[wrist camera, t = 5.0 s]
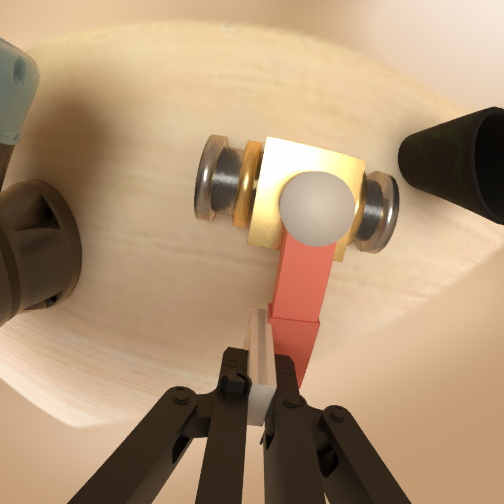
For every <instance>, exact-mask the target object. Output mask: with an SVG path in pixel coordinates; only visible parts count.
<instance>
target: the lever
mask: <svg viewBox="0 0 504 504" xmlns="http://www.w3.org/2000/svg"><path fill="white" fill-rule="evenodd" d="M279 212H280V216H281V218H282V221H283V223H284V226H285V230H284V236H283V242H282V248H281V254H280V259H279V265H278V271H277V276H276V282H275V287H274V293H273V298H272V303H269V304H268V324H271V325H272V336H273V347H274V354H280V355H288V356H290V358H291V359H292V360H293V361H294V365H295V371H296V376H297V382H298V388H299V389H300V387H301V384H302V381H303V378H304V375H305V372H306V369H307V366H308V363H309V359H310V356H311V353H312V350H313V347H314V343H315V340H316V336H317V333H318V330H319V326H320V321H319V319H318V317H319V313H320V310H321V306H322V302H323V298H324V294H325V290H326V286H327V282H328V278H329V274H330V269H331V265H332V261H333V256H334V252H335V247H336V243H337V241H338V240H340V239H341V238H342V237H343V236H344V235H345V234H346V233H347V232H348V230H349V229H350V227H351V225H352V223H353V220H354V216H355V201H354V197H353V194H352V192H351V190H350V188H349V187H348V185H347V184H346V183H345V182H344V181H343V180H342V179H341V178H339V177H338V176H336V175H334V174H332V173H329V172H325V171H304V172H301V173H299V174H296V175H295V176H293V177H292V178H291V179H289V180H288V181H287V183H286V184H285V185H284V187H283V189H282V190H281V193H280V197H279Z"/></svg>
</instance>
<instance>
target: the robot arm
mask: <svg viewBox="0 0 504 504" xmlns="http://www.w3.org/2000/svg"><path fill="white" fill-rule="evenodd" d="M39 76H40V75H39V69H38V66H37V64H36V62H35V61H34V60H33V59H32V58H31V57H30V56H29V55H27V54H26V53H25V52H23V51H22V50H20V49H19V48H17V47H15V46H14V45H12V44H10V43H9V42H7V41H5V40H4V39H2V38H0V192H1V188H2V185H3V181H4V178H5V174H6V171H7V167H8V164H9V161H10V158H11V155H12V152H13V149H14V147H15V144H16V143H18V142H19V140H20V138H21V135H22V125H23V123H24V120H25V117H26V115H27V112H28V110H29V107H30V105H31V103H32V100H33V98H34V96H35V94H36V91H37V88H38V85H39ZM80 267H81V247H80V239H79V234H78V230H77V227H76V224H75V221H74V218H73V216H72V213H71V211H70V209H69V207H68V205H67V204H66V202H65V201H64V199H63V198H62V197H61V195H60V194H59V193H58V192H57V191H56V190H55V189H54V188H53V187H51V186H50V185H48V184H47V183H44V182H42V181H37V180H31V181H25V182H19V183H16V184H14V185H12V186H10V187H9V188H7V189H6V190H4V191H3V192H2V193H0V327H1V326H2V325H4V324H5V323H6V322H7V321H9V320H10V319H11V318H13V317H14V316H15V315H17V314H21V313H25V312H30V311H35V310H40V309H45V308H49V307H52V306H54V305H56V304H57V303H59V302H60V301H61V300H63V299H64V298H65V297H67V296H68V295H69V294H70V293H71V292H72V290H73V289H74V287H75V285H76V283H77V280H78V277H79V273H80ZM264 421H265V431H264V433H263V436H262V438H261V441H260V444H262V443H263V448H264V484H265V485H264V487H265V504H326V501H325V495H324V493H325V494H326V497H327V499H328V501H329V503H330V504H411V502H410V501H409V499H408V498H407V496H406V495H405V493H404V492H403V490H402V489H401V487H400V486H399V484H398V483H397V482H396V480H395V479H394V477H393V476H392V474H391V473H390V471H389V470H388V468H387V467H386V465H385V464H384V462H383V461H382V460H381V458H380V456H379V455H378V454H377V452H376V450H375V449H374V447H373V446H372V445H371V443H370V442H369V440H368V439H367V437H366V436H365V434H364V433H363V431H362V430H361V428H360V427H359V425H358V424H357V422H356V421H355V419H354V418H353V416H352V415H351V413H350V412H349V411H348V410H347V409H345V408H343V407H341V406H337V405H331V406H328V407H326V408H325V409H324V411H323V410H320V409H316V408H313V407H311V406H309V405H307V402H306V400H305V399H304V398H303V397H302V396H301V395H300V394H299V388H298V382H297V376H296V371H295V365H294V361H293V360H292V359H291V358H290V356H288V355H280V354H274V347H273V336H272V325H271V324H268V310H264V309H258V308H253V307H252V310H251V315H250V319H249V324H248V329H247V333H246V338H245V342H244V349H238V348H232V347H228V348H227V349H226V350H225V351H224V353H223V359H222V364H221V370H220V375H219V381H218V385H217V388H216V389H215V390H214V391H212V392H210V393H207V394H196V393H195V392H194V391H193V390H191V389H189V388H187V387H183V386H176V387H172V388H170V389H169V390H167V391H166V392H165V393H164V395H163V396H162V397H161V398H160V399H159V400H158V402H157V403H156V404H155V405H154V406H153V408H152V409H151V410H150V411H149V412H148V413H147V415H146V416H145V417H144V418H143V419H142V420H141V421H140V423H139V424H138V425H137V426H136V427H135V429H134V430H133V431H132V432H131V433H130V434H129V435H128V436H127V438H126V439H125V440H124V441H123V442H122V443H121V445H120V446H119V447H118V448H117V449H116V450H115V451H114V453H113V454H112V455H111V456H110V457H109V458H108V459H107V460H106V462H104V464H103V465H102V466H101V467H100V468H99V469H98V470H97V472H96V473H95V474H94V475H93V476H92V477H91V478H90V479H89V480H88V481H87V482H86V484H85V485H84V486H83V487H82V488H81V489H80V490H79V491H78V492H77V493H76V495H75V496H74V497H73V498H72V499H71V500H70V501H69V502H68V503H67V504H151V503H152V502H153V500H154V499H155V498H156V496H157V495H158V493H159V492H160V490H161V489H162V487H163V486H164V484H165V482H166V481H167V479H168V478H169V476H170V475H171V473H172V472H173V470H174V469H175V467H176V466H177V464H178V462H179V461H180V459H181V458H182V456H183V455H184V453H185V451H186V449H187V448H188V447H189V445H190V444H191V442H192V440H193V438H203V437H208V438H207V443H206V448H205V453H204V459H203V464H202V469H201V474H200V480H199V485H198V490H197V496H196V501H195V504H241V502H242V489H243V473H244V460H245V459H244V458H245V445H246V429H247V425H254V426H263V423H264Z"/></svg>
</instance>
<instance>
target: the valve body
mask: <svg viewBox="0 0 504 504" xmlns="http://www.w3.org/2000/svg"><path fill="white" fill-rule="evenodd" d="M261 149H262V142H256V141H251V140H248V142H247V145H246V148H245V150H241V149H235V148H228V138H227V137H226V136H219V135H211V136H210V137H209V139H208V140H207V143H206V145H205V147H204V150H203V153H202V156H201V160H200V164H199V168H198V173H197V178H196V185H195V196H194V211H195V216H196V218H197V219H198V220H204V221H210V222H211V221H212V220H213V219H214V217H215V214H216V212H220V213H225V214H231V215H233V220H232V225H233V226H237V227H242V228H246V227H247V222H248V218H252V220H251V225H250V231H249V236H248V241H247V244H250V245H256V246H261V247H266V248H272V249H277V250H281V248H282V242H283V236H284V230H285V226H284V223H283V221H282V218H281V216H280V212H279V197H280V193H281V190H282V189H283V187H284V185H285V184H286V183H287V181H288V180H289V179H291V178H292V177H293V176H295V175H296V174H299V173H301V172H304V171H325V172H329V173H332V174H334V175H336V176H338V177H339V178H341V179H342V180H343V181H344V182H345V183H346V184H347V185H348V187H349V188H350V190H351V192H352V194H353V197H354V201H355V216H354V220H353V223H352V225H351V227H350V229H349V230H348V232H347V233H346V234H345V235H344V236H343V237H342V238H341V239H340V240H338V241H337V243H336V247H335V252H334V256H333V260H334V261H340V262H342V260H343V256H344V253H345V249H346V246H348V245H349V244H350V243H351V241H352V240H353V239H354V242H355V245H356V247H357V248H358V250H360V251H363V252H368V253H372V254H376V253H378V252H380V251H381V250H382V249H383V248H384V247H385V246H386V245H387V243H388V242H389V240H390V238H391V236H392V234H393V231H394V229H395V226H396V222H397V218H398V212H399V190H398V185H397V183H396V180H395V179H394V178H393V177H392V176H391V175H389V174H386V173H383V172H379V171H375V172H373V173H371V174H370V175H369V176H368V178H366V174H365V171H364V168H365V163H366V161H364V160H360V159H357V158H354V157H350V156H347V155H343V154H339V153H336V152H332V151H328V150H324V149H320V148H316V147H312V146H307V145H303V144H299V143H294V142H289V141H285V140H280V139H275V138H270V137H267V141H266V146H265V152H264V154H263V153H261Z"/></svg>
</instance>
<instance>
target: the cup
mask: <svg viewBox="0 0 504 504" xmlns="http://www.w3.org/2000/svg"><path fill="white" fill-rule="evenodd" d="M398 164H399V168H400V171H401V173H402V176H403V177H404V178H405V180H406V181H407V182H408V183H409V184H410V185H411V186H413V187H415V188H417V189H420V190H422V191H425V192H427V193H430V194H432V195H435V196H437V197H440V198H442V199H445V200H447V201H449V202H452V203H454V204H456V205H459V206H461V207H463V208H465V209H468V210H470V211H472V212H474V213H476V214H478V215H480V216H482V217H485V218H487V219H489V220H491V221H493V222H495V223H497V224H501V225H504V109H502V108H498V107H491V108H487V109H484V110H480V111H477V112H474V113H471V114H468V115H465V116H462V117H459V118H457V119H454V120H451V121H448V122H445V123H442V124H439V125H437V126H434V127H431V128H428V129H426V130H423V131H420V132H417V133H415V134H412V135H410V136H408V137H407V138H405V140H404V141H403V142H402V144H401V146H400V149H399V153H398Z"/></svg>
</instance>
